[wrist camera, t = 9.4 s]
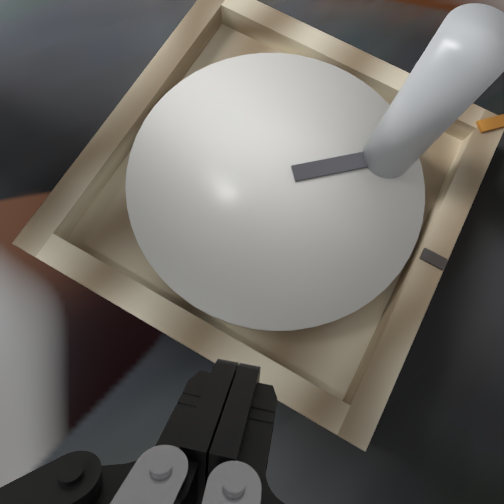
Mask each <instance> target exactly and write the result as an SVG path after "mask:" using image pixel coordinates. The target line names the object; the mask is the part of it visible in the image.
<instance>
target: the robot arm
mask: <svg viewBox="0 0 504 504" xmlns="http://www.w3.org/2000/svg"><path fill="white" fill-rule="evenodd" d="M260 370H261V367H259V366H254V365H249V364H244V363H240V364H239V363H238V362H233V361H228V360H222V359H217V361H216V363H215V365H214V368H213V370H212V372H211V373H207V372H202V371H199V372H198V373H197V374H196V375H194V376H193V377H192V378H191V379H190V380H189V381H188V383H187V385H186V387H185V389H184V391H183V393H182V395H181V397H180V399H179V401H178V403H177V405H176V406H175V408H174V410H173V412H172V414H171V416H170V418H169V420H168V422H167V424H166V426H165V428H164V430H163V432H162V434H161V436H160V438H159V440H158V442H157V444H156V445H155V447H152V448H150V449H149V450H147V451H146V452H144V453H143V454H142V455H141V456H140V457H139V459H138V460H137V461H134V462H131V463H126V464H117V465H106V466H101V462H100V460H99V458H98V457H97V456H96V455H95V454H93V453H91V452H88V451H75V452H71V453H68V454H66V455H64V456H61V457H60V458H58V459H56V460H54V461H52V462H50V463H48V464H46V465H44V466H42V467H40V468H38V469H36V470H34V471H32V472H30V473H28V474H26V475H24V476H22V477H20V478H18V479H16V480H14V481H13V482H11V483H9V484H7V485H5V486H3V487H1V488H0V504H284V503H283V502H282V501H280V500H279V499H278V498H277V497H276V496H275V495H274V494H273V492H272V491H271V489H270V488H269V486H268V483H267V480H266V469H267V463H268V456H269V450H270V444H271V438H272V432H273V425H274V417H275V410H276V403H277V396H276V393H275V390H274V387H273V385H268V384H263V383H259V379H260Z"/></svg>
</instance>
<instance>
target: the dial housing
mask: <svg viewBox="0 0 504 504" xmlns="http://www.w3.org/2000/svg"><path fill="white" fill-rule="evenodd" d="M256 53H286V54H295V55H301V56H305V57H310V58H314V59H317V60H320V61H323V62H326V63H329V64H332V65H334V66H336V67H338V68H340V69H342V70H345V71H347V72H349V73H350V74H352V75H353V76H355V77H357V78H358V79H360V80H362V81H363V82H364V83H366V84H367V85H368V86H370V87H371V88H372V89H373V90H375V91H376V92H377V93H378V94H379V95H380V96H381V97H382V98H383V99H384V100H385V101H386V102H387V103H388V104H389V105H391V103H392V101H393V100H394V98H395V97H396V95H397V94H398V92H399V90H400V89H401V87H402V86H403V84H404V83H405V81H406V79H407V78H408V76H409V75H410V73H408V72H406V71H404V70H401V69H399V68H397V67H395V66H393V65H391V64H389V63H387V62H385V61H383V60H380V59H378V58H376V57H374V56H372V55H370V54H368V53H366V52H364V51H362V50H359V49H357V48H355V47H353V46H351V45H349V44H347V43H345V42H343V41H341V40H338V39H336V38H334V37H332V36H330V35H328V34H326V33H324V32H322V31H320V30H317V29H315V28H313V27H311V26H309V25H307V24H305V23H303V22H301V21H299V20H296V19H294V18H292V17H290V16H288V15H286V14H284V13H282V12H280V11H278V10H275V9H273V8H271V7H269V6H267V5H265V4H263V3H261V2H259V1H257V0H197V1H196V3H195V4H194V5H193V7H192V8H191V9H190V11H189V12H188V13H187V15H186V16H185V17H184V18H183V20H182V21H181V22H180V24H179V25H178V26H177V28H176V29H175V30H174V32H173V33H172V34H171V36H170V37H169V38H168V39H167V41H166V42H165V43H164V45H163V46H162V47H161V49H160V50H159V51H158V53H157V54H156V55H155V56H154V58H153V59H152V60H151V62H150V63H149V64H148V66H147V67H146V68H145V70H144V71H143V72H142V74H141V75H140V76H139V77H138V79H137V80H136V81H135V83H134V84H133V85H132V87H131V88H130V89H129V91H128V92H127V93H126V94H125V96H124V97H123V98H122V100H121V101H120V102H119V104H118V105H117V106H116V108H115V109H114V110H113V112H112V113H111V114H110V115H109V117H108V118H107V119H106V121H105V122H104V123H103V125H102V126H101V127H100V129H99V130H98V131H97V133H96V134H95V135H94V136H93V138H92V139H91V140H90V142H89V143H88V144H87V146H86V147H85V148H84V150H83V151H82V152H81V153H80V155H79V156H78V157H77V159H76V160H75V161H74V163H73V164H72V165H71V167H70V168H69V169H68V171H67V172H66V173H65V174H64V176H63V177H62V178H61V180H60V181H59V182H58V184H57V185H56V186H55V188H54V189H53V190H52V191H51V193H50V194H49V195H48V197H47V198H46V199H45V201H44V202H43V203H42V205H41V206H40V207H39V209H38V210H37V211H36V212H35V214H34V215H33V217H32V218H31V219H30V220H29V222H28V223H27V224H26V226H25V227H24V228H23V230H22V231H21V232H20V234H19V235H18V236H17V238H16V239H15V240H14V241H13V244H14V245H16V246H17V247H19V248H21V249H22V250H24V251H26V252H28V253H29V254H31V255H33V256H34V257H36V258H38V259H39V260H41V261H43V262H45V263H46V264H48V265H49V266H51V267H53V268H55V269H56V270H58V271H60V272H61V273H63V274H65V275H66V276H68V277H70V278H72V279H73V280H75V281H77V282H78V283H80V284H82V285H83V286H85V287H87V288H88V289H90V290H92V291H94V292H95V293H97V294H99V295H100V296H102V297H104V298H105V299H107V300H109V301H110V302H113V303H114V304H116V305H117V306H119V307H121V308H122V309H124V310H126V311H127V312H129V313H131V314H133V315H134V316H136V317H138V318H139V319H141V320H143V321H144V322H146V323H148V324H149V325H151V326H153V327H155V328H156V329H158V330H160V331H161V332H163V333H165V334H166V335H168V336H170V337H171V338H173V339H175V340H177V341H178V342H180V343H182V344H183V345H185V346H187V347H188V348H190V349H192V350H194V351H195V352H197V353H199V354H200V355H202V356H204V357H205V358H207V359H209V360H210V361H212V362H214V363H216V361H217V359H222V360H228V361H233V362H238V363H239V364H240V363H244V364H249V365H254V366H259V367H261V370H260V379H259V383H263V384H268V385H273V387H274V390H275V393H276V396H277V400H278V401H280V402H282V403H283V404H285V405H287V406H288V407H290V408H292V409H294V410H295V411H297V412H299V413H300V414H302V415H304V416H305V417H307V418H309V419H310V420H312V421H314V422H316V423H317V424H319V425H321V426H322V427H324V428H326V429H327V430H329V431H331V432H332V433H334V434H336V435H338V436H339V437H341V438H343V439H344V440H346V441H348V442H349V443H351V444H353V445H355V446H356V447H358V448H360V449H361V450H363V451H365V452H366V450H367V447H368V445H369V443H370V440H371V438H372V436H373V433H374V431H375V429H376V426H377V424H378V422H379V419H380V417H381V415H382V412H383V410H384V408H385V405H386V403H387V401H388V398H389V396H390V394H391V391H392V389H393V387H394V384H395V382H396V380H397V377H398V375H399V373H400V370H401V368H402V366H403V364H404V361H405V359H406V357H407V354H408V352H409V350H410V347H411V345H412V343H413V340H414V338H415V336H416V333H417V331H418V329H419V326H420V324H421V322H422V319H423V317H424V315H425V312H426V310H427V308H428V305H429V303H430V301H431V298H432V296H433V294H434V291H435V289H436V287H437V284H438V282H439V280H440V278H441V275H442V273H443V271H444V268H445V266H446V264H447V261H448V259H449V257H450V254H451V252H452V250H453V247H454V245H455V243H456V240H457V238H458V236H459V233H460V231H461V229H462V226H463V224H464V222H465V219H466V217H467V215H468V212H469V210H470V208H471V205H472V203H473V201H474V198H475V196H476V194H477V191H478V189H479V187H480V185H481V182H482V180H483V178H484V175H485V173H486V171H487V168H488V166H489V164H490V161H491V159H492V157H493V154H494V152H495V150H496V147H497V145H498V143H499V140H500V138H501V136H502V133H503V131H504V114H502V115H496V114H494V113H492V112H490V111H487V110H485V109H483V108H481V107H479V106H477V105H475V104H473V103H472V104H471V105H470V106H469V108H468V109H467V110H466V111H465V112H464V113H463V114H462V115H461V116H460V117H459V118H458V119H457V120H456V121H455V122H454V123H453V124H452V125H451V126H450V127H449V128H448V129H447V130H446V131H445V132H444V133H443V134H442V135H441V136H440V137H439V138H438V139H437V140H436V141H435V142H434V143H433V144H432V145H431V146H430V147H429V148H428V149H427V151H426V152H425V153H424V154H423V155H422V156H421V157H420V158H419V159H420V162H421V165H422V170H423V177H424V183H425V207H424V215H423V222H422V226H421V229H420V233H419V236H418V240H417V242H416V244H415V246H414V249H413V251H412V253H411V255H410V257H409V259H408V260H407V262H406V264H405V265H404V267H403V268H402V270H401V272H400V273H399V274H398V275H397V276H396V278H395V279H394V280H393V281H392V282H391V283H390V285H389V286H388V287H387V288H386V289H385V290H384V291H382V292H381V293H380V294H379V295H378V296H377V297H376V298H374V299H373V300H372V301H371V302H369V303H368V304H366V305H364V306H363V307H361V308H360V309H358V310H357V311H355V312H353V313H351V314H349V315H347V316H345V317H342V318H340V319H338V320H336V321H333V322H329V323H326V324H323V325H320V326H316V327H311V328H305V329H299V330H293V331H264V330H255V329H249V328H244V327H240V326H236V325H232V324H229V323H227V322H224V321H222V320H219V319H217V318H214V317H212V316H210V315H208V314H206V313H205V312H203V311H201V310H199V309H197V308H196V307H194V306H193V305H191V304H190V303H189V302H187V301H186V300H185V299H183V298H182V297H181V296H179V295H178V294H177V293H175V292H174V291H173V290H172V289H171V288H170V287H169V286H168V285H167V284H166V283H165V282H164V281H163V280H162V279H161V278H160V277H159V275H158V274H157V273H156V271H155V270H154V269H153V267H152V266H151V265H150V263H149V262H148V261H147V259H146V257H145V255H144V254H143V252H142V250H141V248H140V246H139V245H138V242H137V240H136V237H135V235H134V232H133V229H132V227H131V223H130V219H129V214H128V210H127V203H126V191H125V186H126V170H127V165H128V161H129V156H130V152H131V149H132V146H133V143H134V141H135V138H136V135H137V133H138V131H139V129H140V128H141V126H142V124H143V122H144V120H145V119H146V117H147V116H148V114H149V113H150V112H151V110H152V109H153V107H154V106H155V105H156V104H157V103H158V102H159V100H160V99H161V98H162V97H163V96H164V95H165V94H166V93H167V92H168V91H169V90H171V89H172V88H173V87H174V86H175V85H177V84H178V83H179V82H180V81H182V80H183V79H185V78H186V77H188V76H190V75H191V74H193V73H194V72H196V71H198V70H200V69H202V68H204V67H206V66H208V65H210V64H213V63H216V62H219V61H222V60H225V59H228V58H232V57H237V56H241V55H247V54H256Z"/></svg>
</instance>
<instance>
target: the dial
mask: <svg viewBox="0 0 504 504" xmlns="http://www.w3.org/2000/svg"><path fill="white" fill-rule="evenodd" d="M503 72H504V12H502V11H500V10H499V9H497V8H494V7H492V6H489V5H484V4H477V3H474V4H473V3H472V4H465V5H462V6H459V7H457V8H455V9H454V10H452V11H451V12H450V13H449V14H448V15H447V16H446V18H445V20H444V21H443V23H442V24H441V26H440V27H439V29H438V31H437V32H436V34H435V35H434V37H433V38H432V40H431V42H430V43H429V45H428V46H427V48H426V49H425V51H424V53H423V54H422V56H421V57H420V59H419V60H418V62H417V64H416V65H415V67H414V68H413V70H412V72H411V73H410V75H409V76H408V78H407V79H406V81H405V83H404V84H403V86H402V87H401V89H400V90H399V92H398V94H397V95H396V97H395V98H394V100H393V101H392V103H391V105H389V104H388V103H387V102H386V101H385V100H384V99H383V98H382V97H381V96H380V95H379V94H378V93H377V92H376V91H375V90H373V89H372V88H371V87H370V86H368V85H367V84H366V83H364V82H363V81H362V80H360V79H358V78H357V77H355V76H353V75H352V74H350V73H349V72H347V71H345V70H342V69H340V68H338V67H336V66H334V65H332V64H329V63H326V62H323V61H320V60H317V59H314V58H310V57H305V56H301V55H295V54H286V53H256V54H247V55H241V56H237V57H232V58H228V59H225V60H222V61H219V62H216V63H213V64H210V65H208V66H206V67H204V68H202V69H200V70H198V71H196V72H194V73H193V74H191V75H190V76H188V77H186V78H185V79H183V80H182V81H180V82H179V83H178V84H177V85H175V86H174V87H173V88H172V89H171V90H169V91H168V92H167V93H166V94H165V95H164V96H163V97H162V98H161V99H160V100H159V102H158V103H157V104H156V105H155V106H154V107H153V109H152V110H151V112H150V113H149V114H148V116H147V117H146V119H145V120H144V122H143V124H142V126H141V128H140V129H139V131H138V133H137V135H136V138H135V141H134V143H133V146H132V149H131V152H130V156H129V161H128V165H127V170H126V186H125V191H126V203H127V210H128V214H129V219H130V223H131V227H132V229H133V232H134V235H135V237H136V240H137V242H138V245H139V246H140V248H141V250H142V252H143V254H144V255H145V257H146V259H147V261H148V262H149V263H150V265H151V266H152V267H153V269H154V270H155V271H156V273H157V274H158V275H159V277H160V278H161V279H162V280H163V281H164V282H165V283H166V284H167V285H168V286H169V287H170V288H171V289H172V290H173V291H174V292H175V293H177V294H178V295H179V296H181V297H182V298H183V299H185V300H186V301H187V302H189V303H190V304H191V305H193V306H194V307H196V308H197V309H199V310H201V311H203V312H205V313H206V314H208V315H210V316H212V317H214V318H217V319H219V320H222V321H224V322H227V323H229V324H232V325H236V326H240V327H244V328H249V329H255V330H264V331H293V330H299V329H305V328H311V327H316V326H320V325H323V324H326V323H329V322H333V321H336V320H338V319H340V318H342V317H345V316H347V315H349V314H351V313H353V312H355V311H357V310H358V309H360V308H361V307H363V306H364V305H366V304H368V303H369V302H371V301H372V300H373V299H374V298H376V297H377V296H378V295H379V294H380V293H381V292H382V291H384V290H385V289H386V288H387V287H388V286H389V285H390V283H391V282H392V281H393V280H394V279H395V278H396V276H397V275H398V274H399V273H400V272H401V270H402V268H403V267H404V265H405V264H406V262H407V260H408V259H409V257H410V255H411V253H412V251H413V249H414V246H415V244H416V242H417V240H418V236H419V233H420V229H421V226H422V222H423V215H424V207H425V183H424V177H423V170H422V165H421V162H420V159H419V158H420V157H421V156H422V155H423V154H424V153H425V152H426V151H427V149H428V148H429V147H430V146H431V145H432V144H433V143H434V142H435V141H436V140H437V139H438V138H439V137H440V136H441V135H442V134H443V133H444V132H445V131H446V130H447V129H448V128H449V127H450V126H451V125H452V124H453V123H454V122H455V121H456V120H457V119H458V118H459V117H460V116H461V115H462V114H463V113H464V112H465V111H466V110H467V109H468V108H469V106H470V105H471V104H472V103H473V102H474V101H475V100H476V99H477V98H478V97H479V96H480V95H481V94H482V93H483V92H484V91H485V90H486V89H487V88H488V87H489V86H490V85H491V84H492V83H493V82H494V81H495V80H496V79H497V78H498V77H499V76H500V75H501V74H502V73H503Z"/></svg>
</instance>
